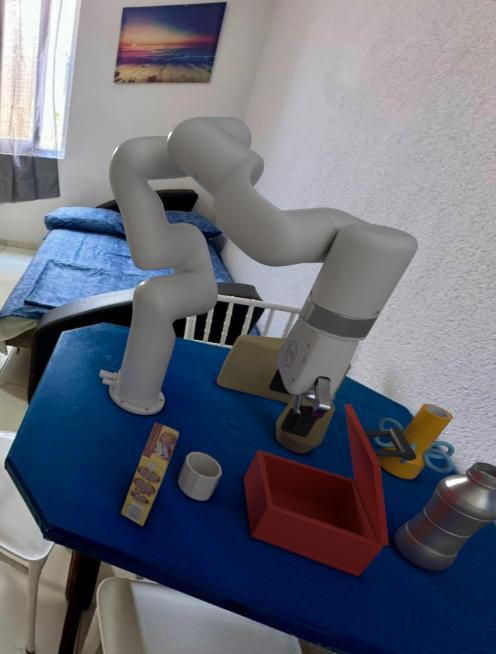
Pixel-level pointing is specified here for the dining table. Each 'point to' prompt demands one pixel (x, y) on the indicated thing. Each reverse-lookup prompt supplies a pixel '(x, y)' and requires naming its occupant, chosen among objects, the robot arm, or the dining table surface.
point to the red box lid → (373, 467)
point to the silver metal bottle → (450, 518)
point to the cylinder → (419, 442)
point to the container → (199, 476)
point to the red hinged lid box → (310, 513)
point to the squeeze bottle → (314, 436)
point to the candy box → (150, 473)
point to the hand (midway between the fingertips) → (285, 410)
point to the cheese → (255, 367)
